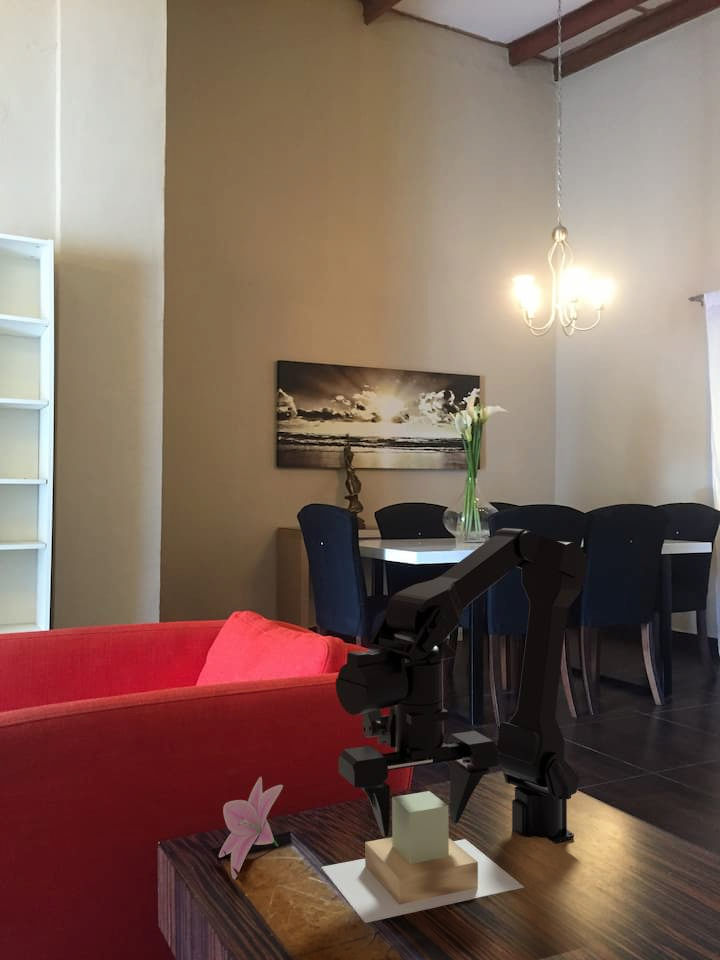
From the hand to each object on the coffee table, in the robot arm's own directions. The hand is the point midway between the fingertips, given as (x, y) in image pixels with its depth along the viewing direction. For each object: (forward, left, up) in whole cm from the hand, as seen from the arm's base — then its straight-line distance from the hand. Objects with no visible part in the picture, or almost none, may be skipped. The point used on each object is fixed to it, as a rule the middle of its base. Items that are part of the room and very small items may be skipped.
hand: (419, 829), depth 104 cm
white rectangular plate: (0, 0, -6) cm, 6 cm away
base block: (0, 0, -6) cm, 6 cm away
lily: (+17, -14, -7) cm, 23 cm away
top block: (0, 0, -3) cm, 3 cm away
